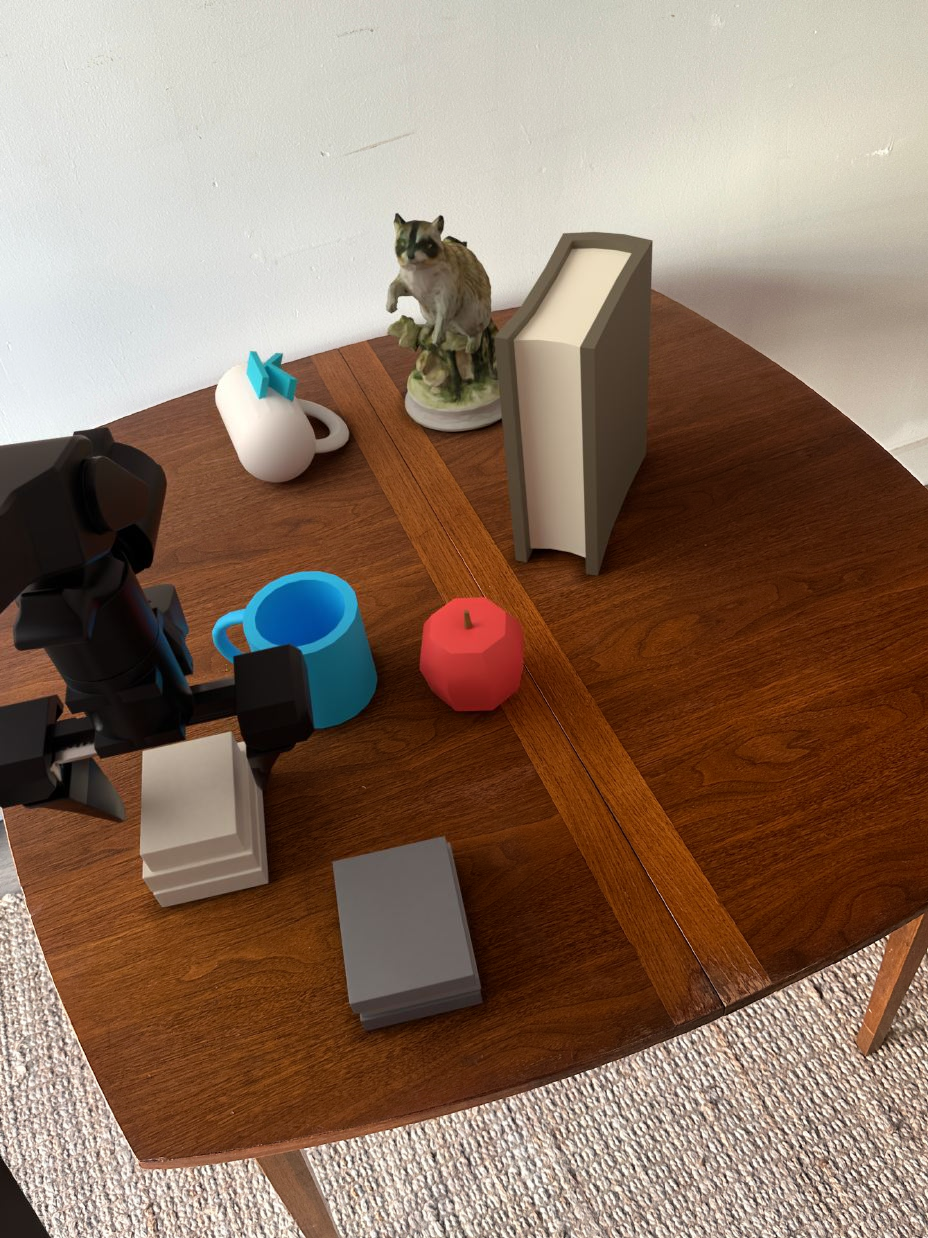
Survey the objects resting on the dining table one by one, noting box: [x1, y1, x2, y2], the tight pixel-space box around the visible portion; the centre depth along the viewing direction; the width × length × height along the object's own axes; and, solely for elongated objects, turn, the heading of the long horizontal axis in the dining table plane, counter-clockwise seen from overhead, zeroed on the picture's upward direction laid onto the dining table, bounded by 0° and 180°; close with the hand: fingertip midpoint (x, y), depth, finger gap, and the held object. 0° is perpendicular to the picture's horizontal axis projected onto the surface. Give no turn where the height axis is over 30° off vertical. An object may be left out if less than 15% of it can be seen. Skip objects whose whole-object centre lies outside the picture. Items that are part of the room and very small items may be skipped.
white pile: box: [142, 740, 269, 908], centre depth 68 cm, size 9×7×4 cm
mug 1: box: [214, 350, 350, 483], centre depth 95 cm, size 12×9×12 cm
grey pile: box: [332, 835, 484, 1032], centre depth 61 cm, size 9×7×4 cm
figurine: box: [385, 212, 502, 433], centre depth 93 cm, size 12×14×20 cm
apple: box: [419, 596, 525, 712], centre depth 73 cm, size 8×8×8 cm
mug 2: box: [211, 570, 378, 729], centre depth 75 cm, size 12×8×8 cm
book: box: [494, 231, 654, 577], centre depth 80 cm, size 16×7×21 cm, turn 159°
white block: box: [139, 731, 246, 872], centre depth 66 cm, size 8×6×2 cm
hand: (193, 800), depth 66 cm, fingers open, 9 cm apart
